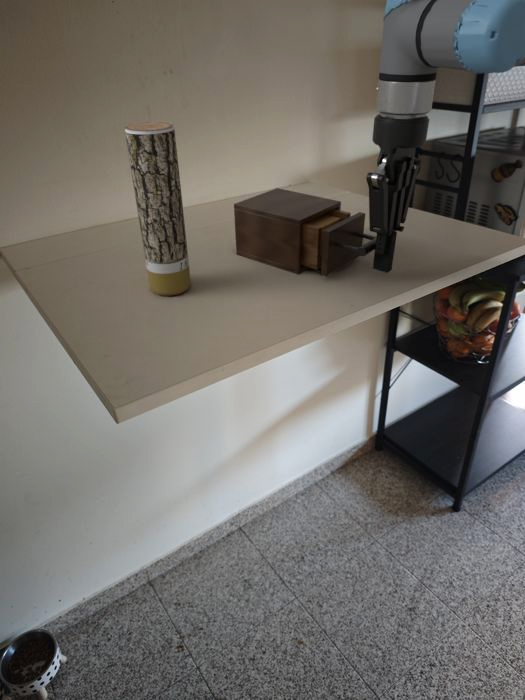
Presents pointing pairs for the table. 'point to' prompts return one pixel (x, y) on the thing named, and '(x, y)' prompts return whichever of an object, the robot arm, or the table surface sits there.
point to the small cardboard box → (323, 224)
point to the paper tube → (159, 205)
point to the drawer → (335, 242)
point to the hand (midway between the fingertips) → (382, 269)
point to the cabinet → (277, 226)
